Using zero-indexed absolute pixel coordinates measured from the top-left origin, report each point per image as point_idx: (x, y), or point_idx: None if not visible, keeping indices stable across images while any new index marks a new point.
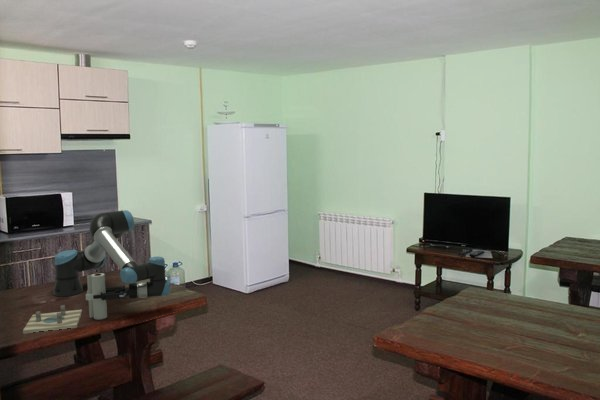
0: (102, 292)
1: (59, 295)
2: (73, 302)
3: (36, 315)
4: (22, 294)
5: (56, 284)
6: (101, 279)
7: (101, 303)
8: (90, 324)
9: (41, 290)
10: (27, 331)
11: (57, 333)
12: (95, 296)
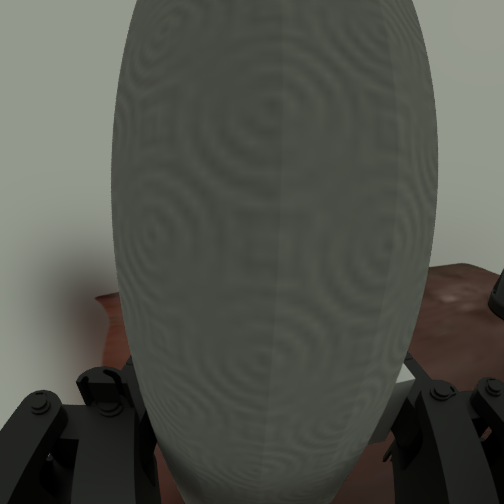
0: (148, 412)
1: (491, 305)
2: (476, 343)
3: None
4: (464, 273)
5: (501, 273)
6: (125, 53)
7: (176, 485)
8: None
9: (495, 283)
10: None
11: (111, 354)
12: (131, 361)
